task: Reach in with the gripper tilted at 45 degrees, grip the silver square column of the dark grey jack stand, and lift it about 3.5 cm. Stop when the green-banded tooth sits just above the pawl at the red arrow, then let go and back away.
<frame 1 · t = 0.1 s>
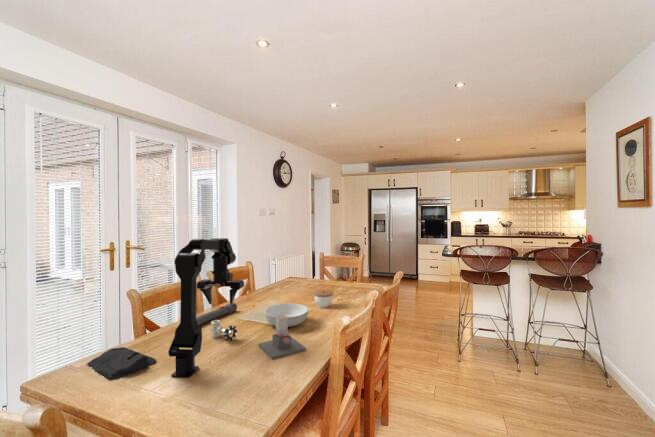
hand: (220, 304, 134), 15 cm above the table, tool pointing down, fingers open, 9 cm apart
flashlight: (214, 319, 159), on the table
serving bowl: (286, 324, 151), on the table
jack stand base: (281, 348, 124), on the table
valve: (221, 338, 135), on the table
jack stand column: (281, 330, 124), point 7 cm above the table, slide at 0.0 cm
dark slate chunk: (121, 366, 112), on the table
lidded jar: (323, 306, 179), on the table
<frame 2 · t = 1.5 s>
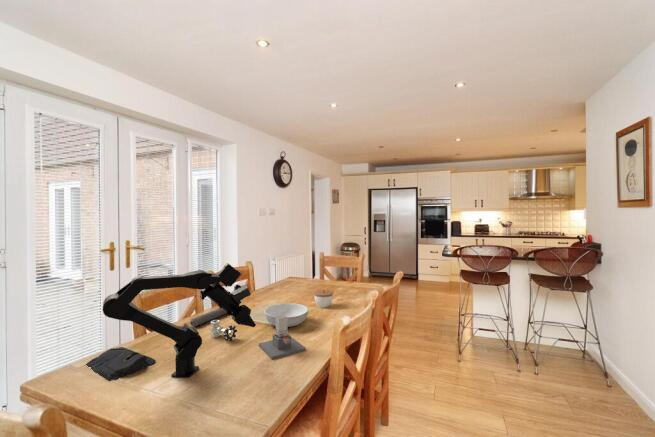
hand: (250, 322, 118), 12 cm above the table, tool tilted 45°, fingers open, 9 cm apart
nothing on the table moved.
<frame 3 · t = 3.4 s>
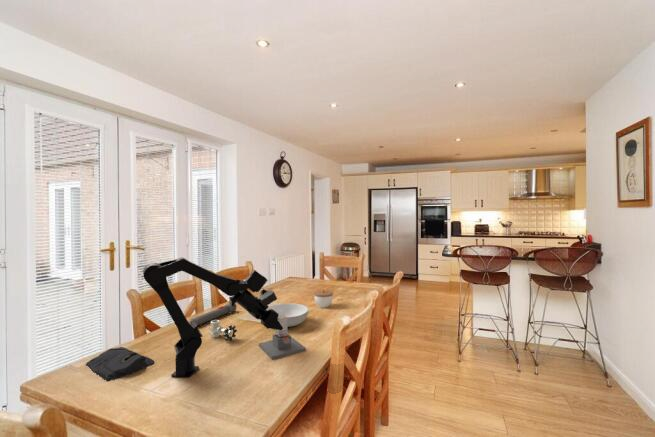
hand: (277, 325, 123), 9 cm above the table, tool tilted 45°, fingers open, 9 cm apart
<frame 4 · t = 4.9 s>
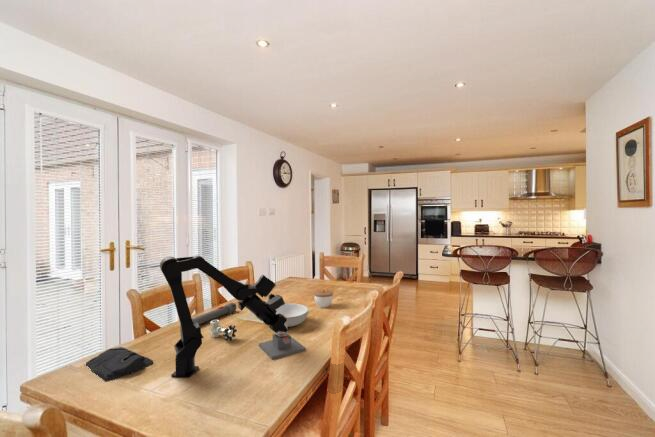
hand: (284, 329, 125), 7 cm above the table, tool tilted 45°, fingers closed on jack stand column, 4 cm apart
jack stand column: (281, 330, 124), point 7 cm above the table, slide at 0.0 cm, touching gripper
everything else where it was.
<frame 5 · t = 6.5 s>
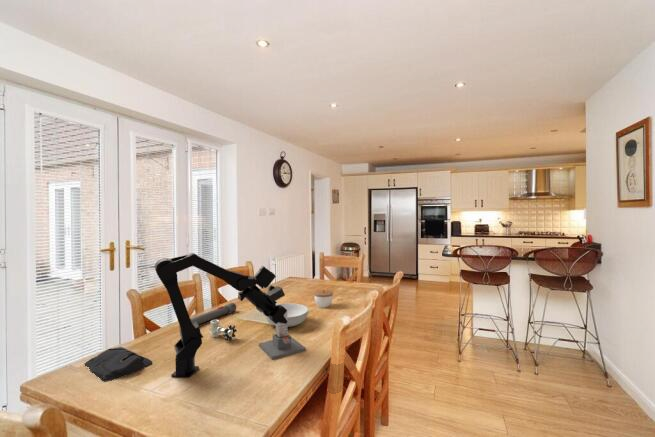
hand: (284, 321, 125), 10 cm above the table, tool tilted 45°, fingers closed on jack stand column, 4 cm apart
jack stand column: (281, 322, 124), point 10 cm above the table, slide at 3.2 cm, touching gripper
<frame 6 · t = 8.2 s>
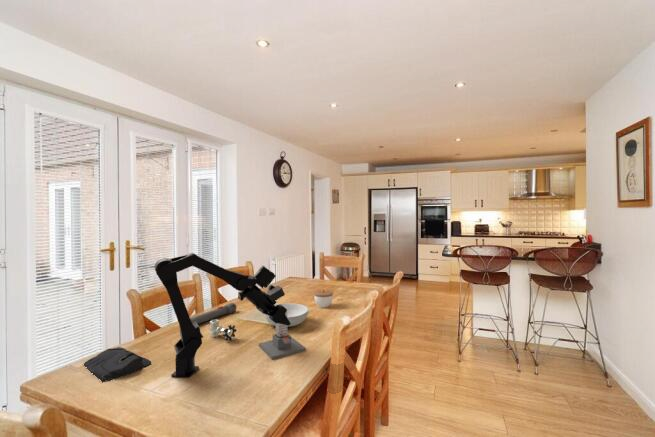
hand: (284, 320, 125), 11 cm above the table, tool tilted 45°, fingers open, 9 cm apart
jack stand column: (281, 322, 124), point 10 cm above the table, slide at 3.3 cm
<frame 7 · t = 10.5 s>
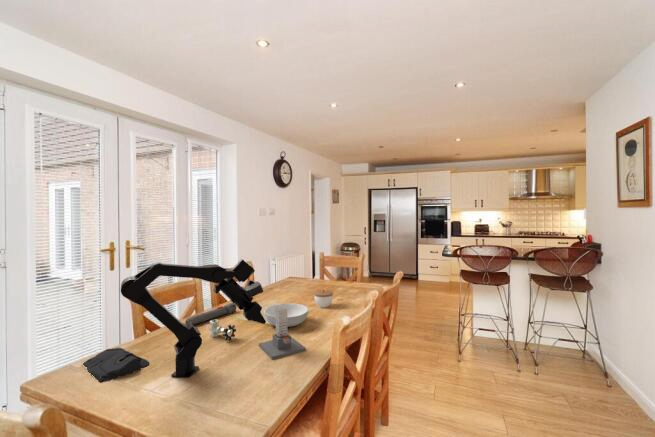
hand: (261, 318, 120), 13 cm above the table, tool tilted 40°, fingers open, 9 cm apart
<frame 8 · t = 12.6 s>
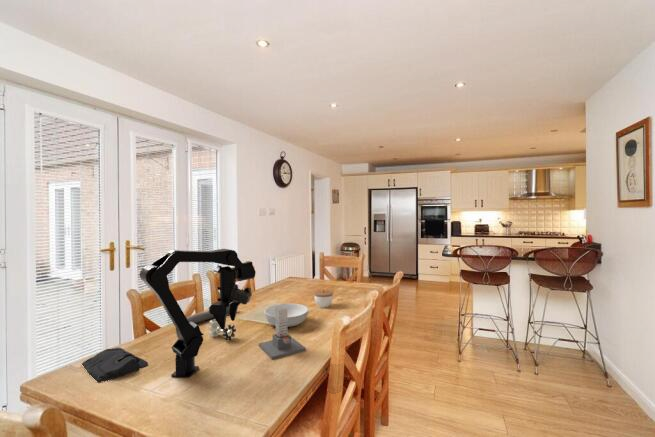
hand: (228, 324, 117), 12 cm above the table, tool pointing down, fingers open, 9 cm apart
at the end: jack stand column slide at 3.3 cm; the gripper is holding nothing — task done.
